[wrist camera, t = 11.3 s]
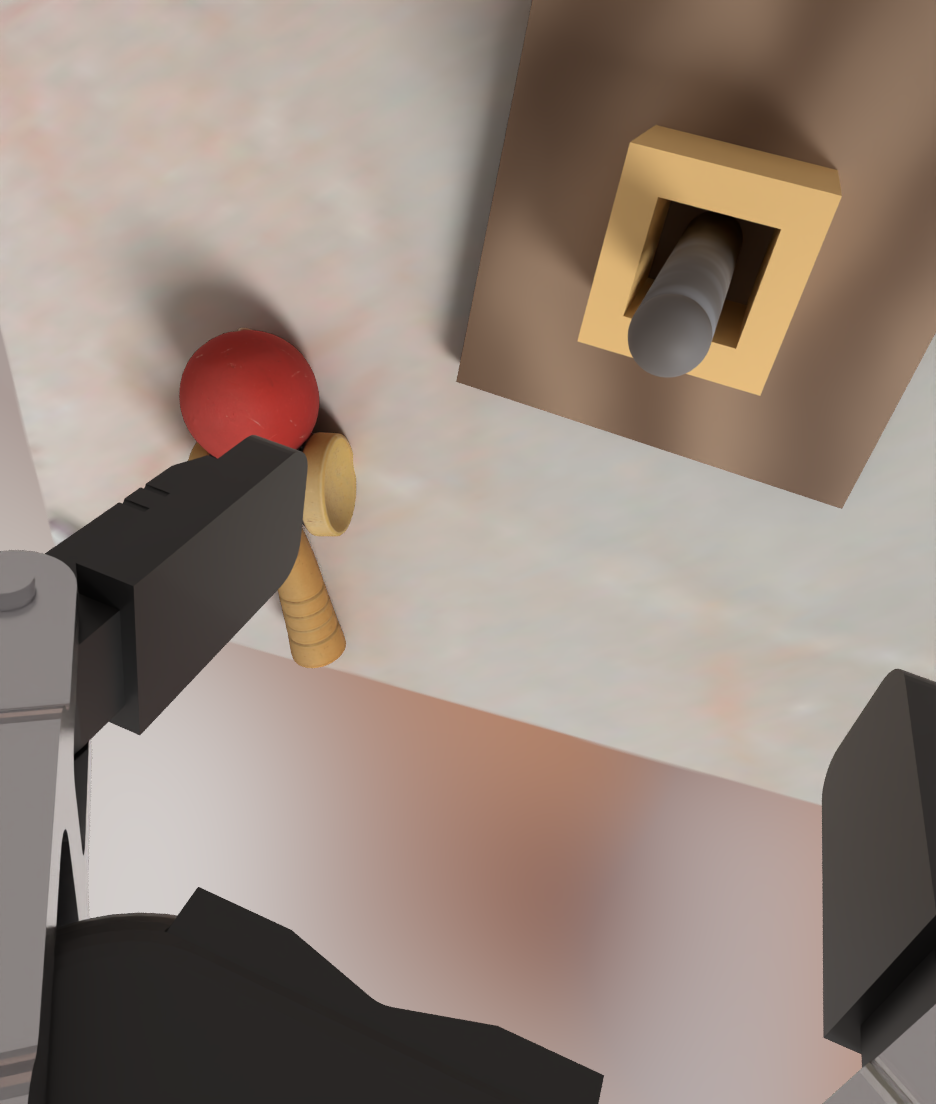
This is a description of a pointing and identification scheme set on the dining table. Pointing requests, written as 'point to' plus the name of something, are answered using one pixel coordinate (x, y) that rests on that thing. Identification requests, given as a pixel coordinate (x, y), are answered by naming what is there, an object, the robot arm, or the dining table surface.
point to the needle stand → (717, 226)
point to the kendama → (286, 418)
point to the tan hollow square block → (728, 188)
